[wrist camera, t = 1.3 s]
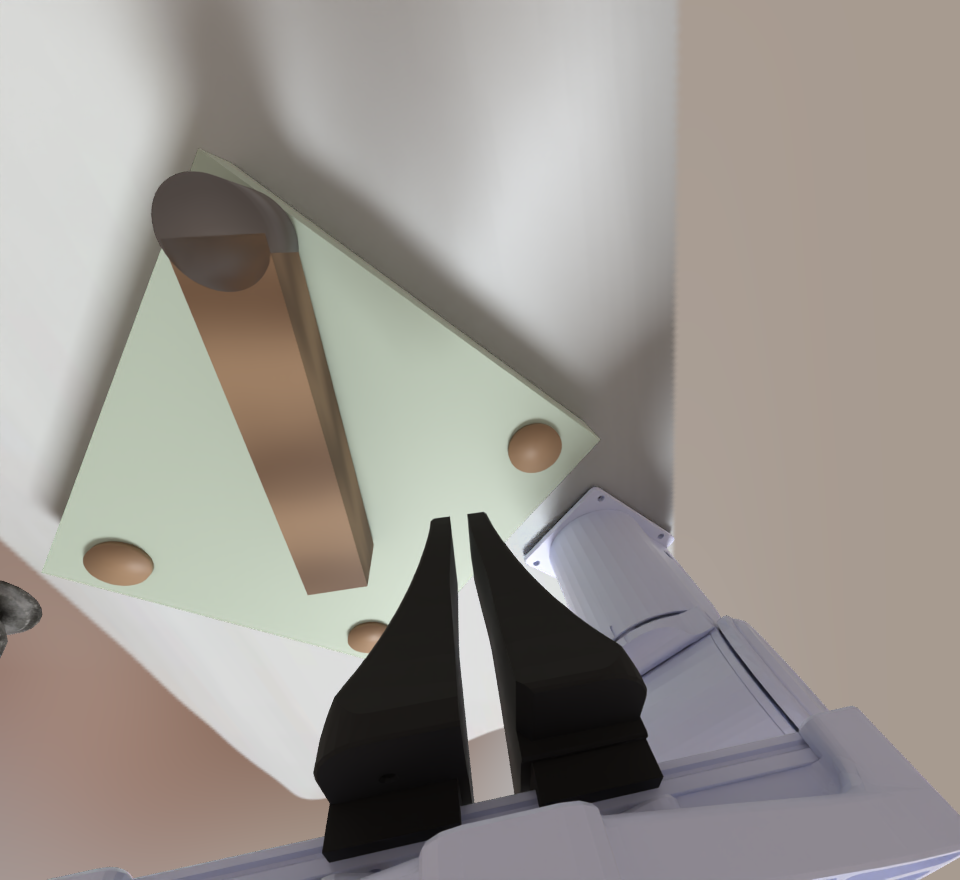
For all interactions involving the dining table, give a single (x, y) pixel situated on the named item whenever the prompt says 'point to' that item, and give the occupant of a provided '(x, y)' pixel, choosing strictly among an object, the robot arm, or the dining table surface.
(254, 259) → the folding leg
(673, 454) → the dining table surface
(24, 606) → the salt shaker
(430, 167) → the dining table surface
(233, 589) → the stool seat
